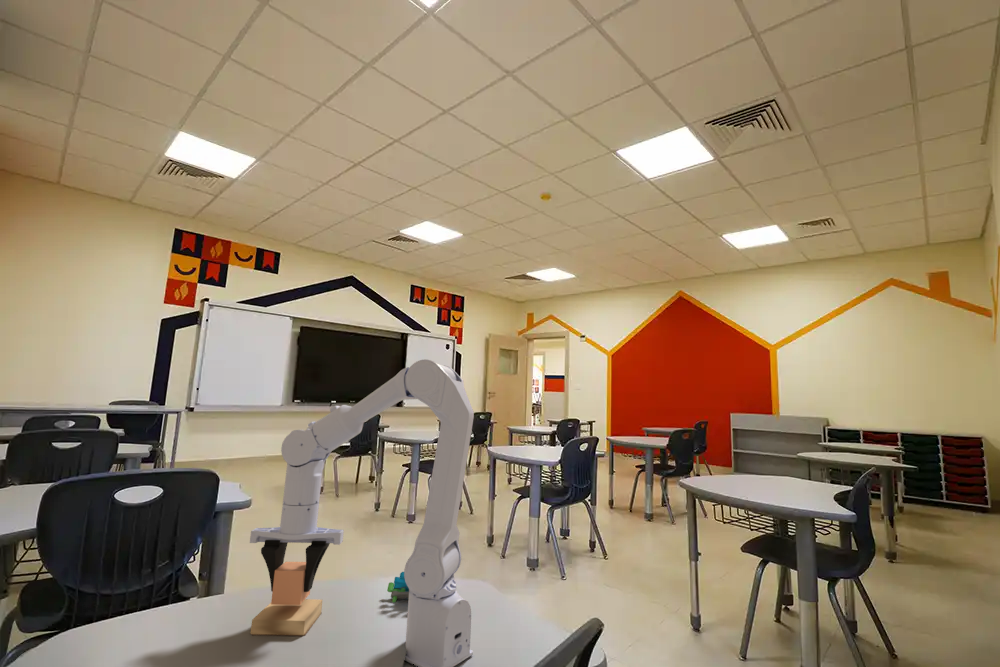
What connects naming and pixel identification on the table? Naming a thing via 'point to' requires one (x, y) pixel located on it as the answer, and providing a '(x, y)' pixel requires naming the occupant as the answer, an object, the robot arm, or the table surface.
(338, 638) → the table surface
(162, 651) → the table surface
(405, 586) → the gear
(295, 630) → the tower top
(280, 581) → the block
